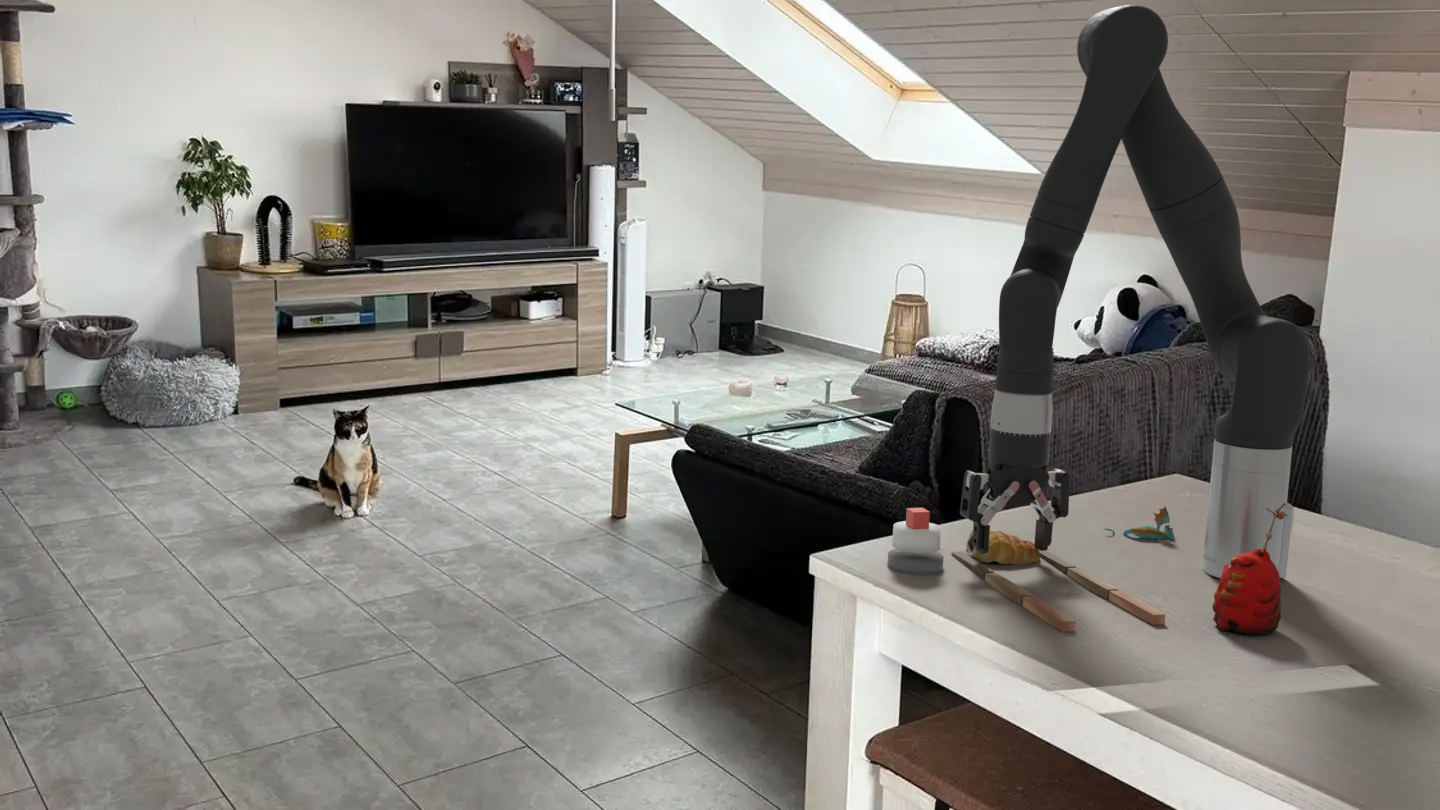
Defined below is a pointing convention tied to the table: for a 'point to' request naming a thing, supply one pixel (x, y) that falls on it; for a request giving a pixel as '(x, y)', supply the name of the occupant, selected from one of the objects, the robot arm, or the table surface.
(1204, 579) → the table surface
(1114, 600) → the track
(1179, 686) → the table surface
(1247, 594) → the red clay folk toy
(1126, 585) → the table surface
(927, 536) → the dome button
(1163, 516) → the dragon figurine
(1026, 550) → the pastry
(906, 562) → the button base
